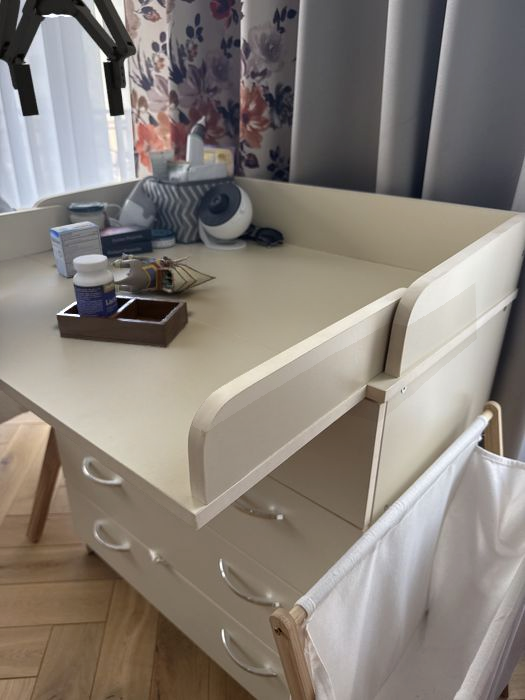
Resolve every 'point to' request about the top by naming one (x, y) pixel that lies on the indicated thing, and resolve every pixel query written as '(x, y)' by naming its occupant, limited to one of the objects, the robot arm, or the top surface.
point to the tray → (128, 322)
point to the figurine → (157, 274)
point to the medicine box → (74, 245)
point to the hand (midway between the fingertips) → (73, 115)
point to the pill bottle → (94, 286)
